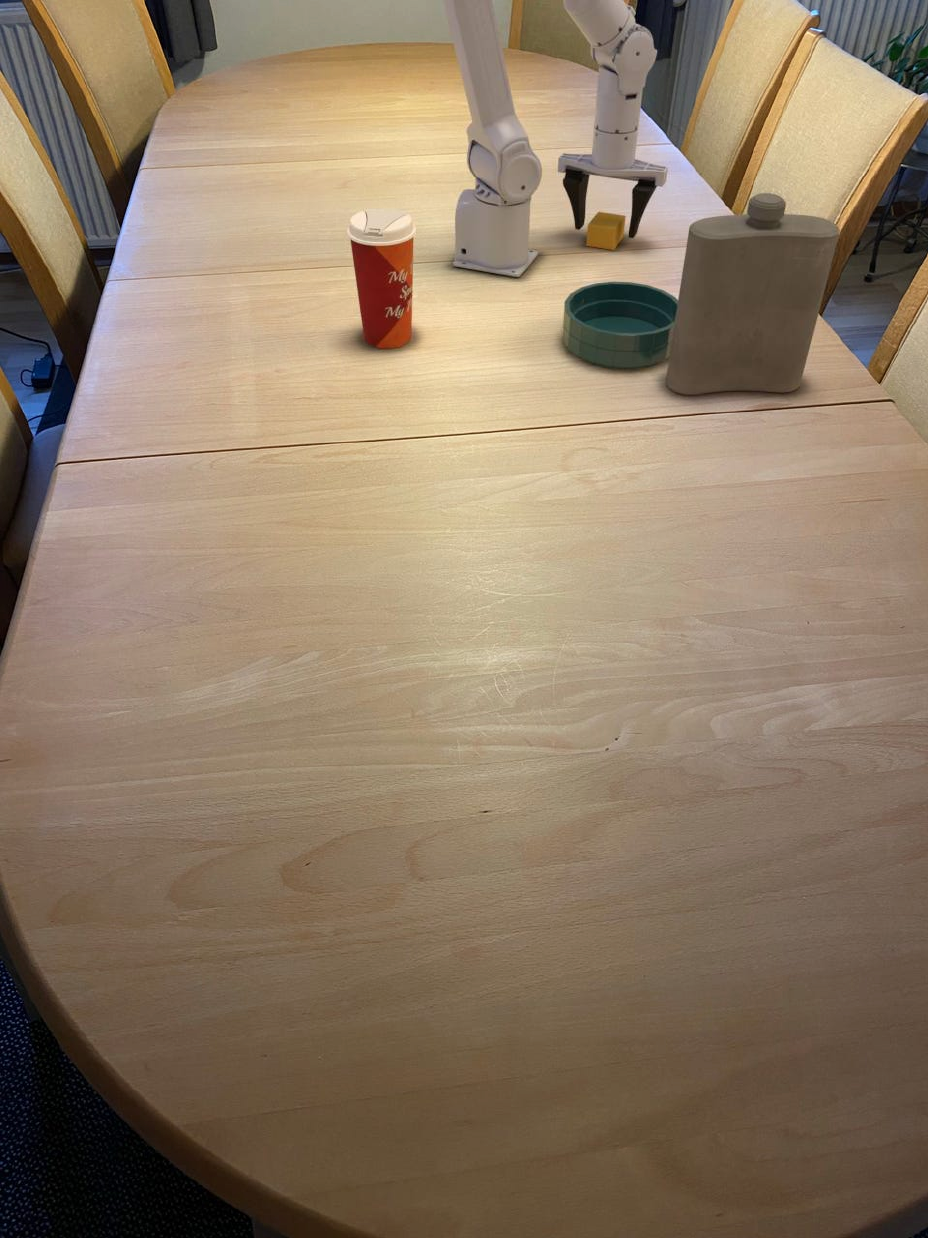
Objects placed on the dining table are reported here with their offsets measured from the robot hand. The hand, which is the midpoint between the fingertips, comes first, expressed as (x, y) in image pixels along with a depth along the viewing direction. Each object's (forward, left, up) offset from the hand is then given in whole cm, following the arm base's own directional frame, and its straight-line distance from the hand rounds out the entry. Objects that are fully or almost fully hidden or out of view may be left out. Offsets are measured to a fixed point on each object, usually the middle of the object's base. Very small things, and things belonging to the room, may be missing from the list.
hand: (605, 231), depth 138 cm
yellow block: (0, 0, -1) cm, 1 cm away
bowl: (+10, -28, -1) cm, 30 cm away
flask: (+24, -32, -2) cm, 40 cm away
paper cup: (-16, -37, -2) cm, 40 cm away
